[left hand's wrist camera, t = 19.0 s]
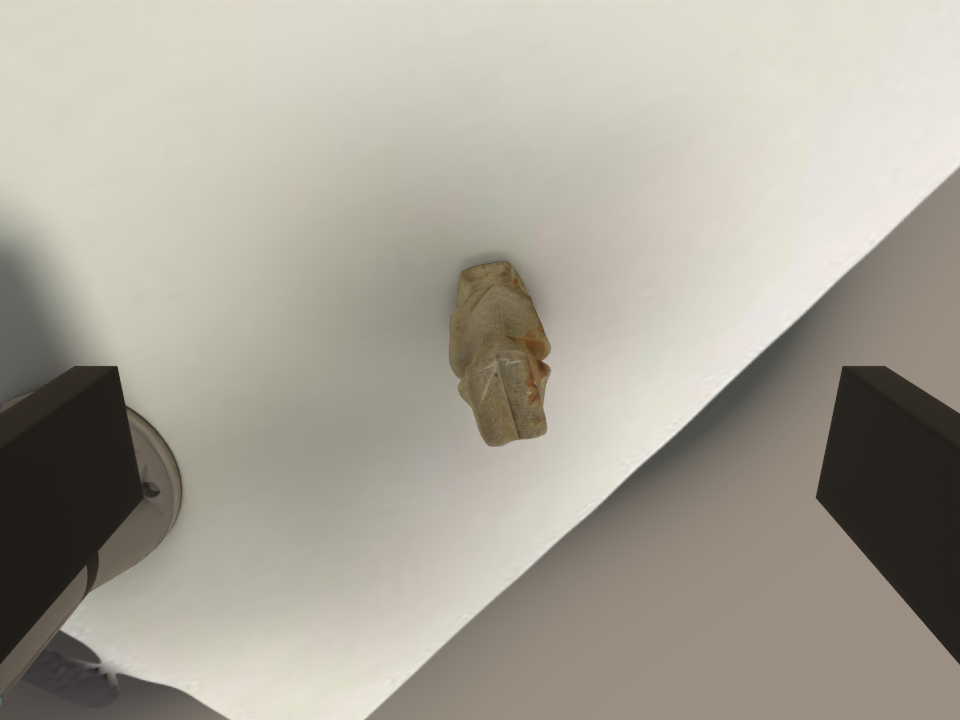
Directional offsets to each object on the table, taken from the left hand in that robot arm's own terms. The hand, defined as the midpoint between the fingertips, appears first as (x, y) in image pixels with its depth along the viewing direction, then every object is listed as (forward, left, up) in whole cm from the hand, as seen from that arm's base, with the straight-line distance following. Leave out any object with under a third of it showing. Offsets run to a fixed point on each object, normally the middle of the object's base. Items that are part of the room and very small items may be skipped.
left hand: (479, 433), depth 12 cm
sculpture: (-5, -5, -34) cm, 35 cm away
